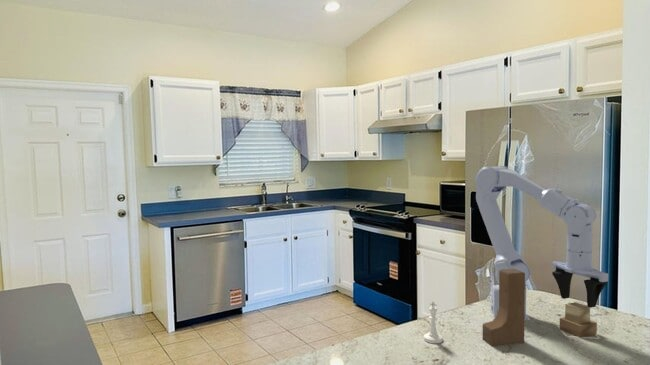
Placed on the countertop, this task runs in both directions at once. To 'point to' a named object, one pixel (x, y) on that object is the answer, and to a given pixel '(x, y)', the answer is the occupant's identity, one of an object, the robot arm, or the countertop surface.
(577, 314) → the maple cube
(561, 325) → the walnut slab
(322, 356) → the countertop surface
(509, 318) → the wooden block
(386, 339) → the countertop surface
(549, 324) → the countertop surface
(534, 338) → the countertop surface
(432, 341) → the chess piece
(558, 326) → the slate mat
